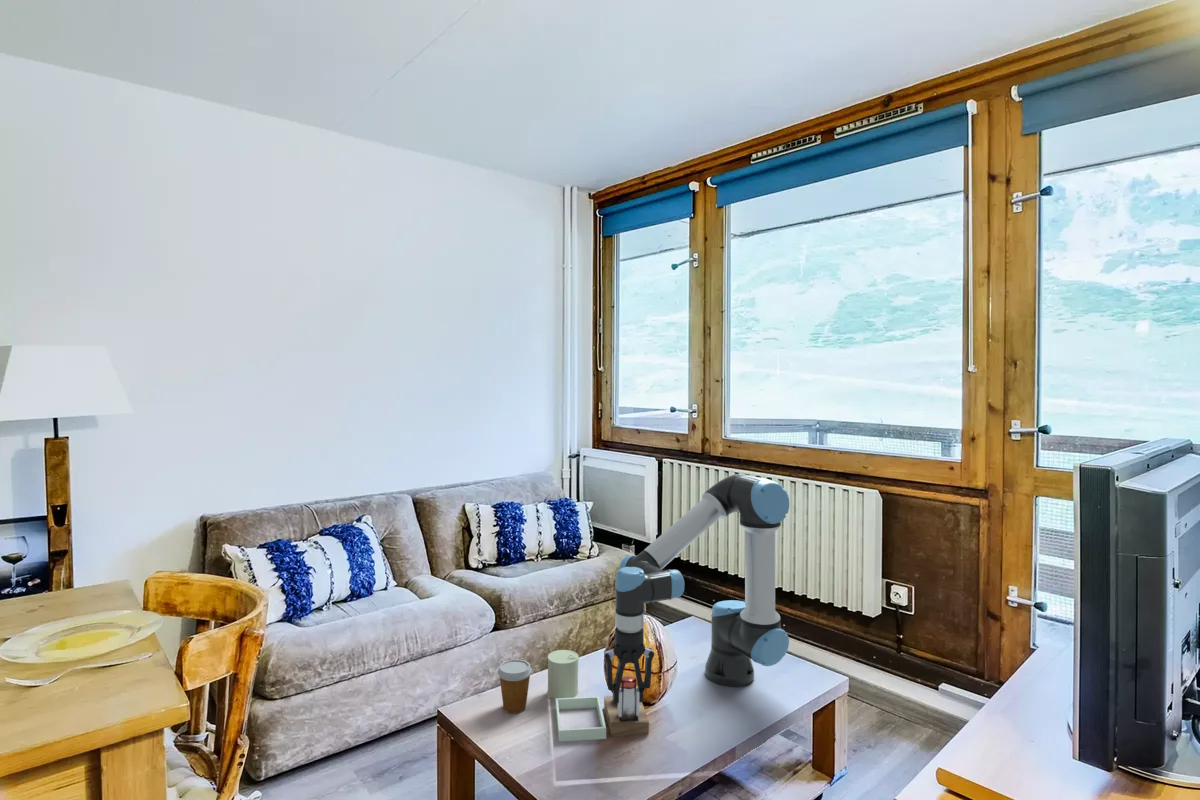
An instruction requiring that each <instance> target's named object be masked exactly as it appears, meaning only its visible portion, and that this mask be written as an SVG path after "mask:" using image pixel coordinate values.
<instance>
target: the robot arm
mask: <svg viewBox="0 0 1200 800" xmlns="http://www.w3.org/2000/svg"><path fill="white" fill-rule="evenodd" d="M789 510H790V498H789V495H788V492H787V491H786V489H785V488H784V487H783V486H782V485H781V484H780V483H778V482H776V481H773V480H771V479H768V478H762V477H758V476H752V475H749V474H746V473H735V474H732V475H729V476H727V477H726V478H723V479H721V480H720V481H718V482H717V483H715V484H714V485H712V486H711V487H710V488H709V489H707V490H706V491H705V492H704V493H703V494H702V496H701V500H700V501H699V502H697V503H696V504H695V505H694V506H693V507H691V508H690V509H689V510H688V511H687V512H686V513H685V514H684V515H683V516H681V517H680V518H679V519H678V520H677V521H676V522H674V523H673V524H672V525H671V526H670V527H669V528H667V529H666V530H665V531H664V532H663V533H661V534H660V535H659V536H658V537H657V538H656V539H655V540H654V541H652V542H651V543H650V544H649V545H648V546H646V547H645V548H644V550H642V551H641V552H640V553H639V554H637V555H633V554H630V555H626V556H625V557H624V558H623V559H622V560H621V562H620V564H619V569H618V570H617V571H616V575H615V584H614V589H615V596H614V597H615V605H614V607H615V612H614V613H615V616H614V617H615V619H614V621H615V622H614V626H615V628H614V644H613V647H612V649H609V650H607V649H605V650H604V651H603V655H604V658H605V666H606V669H605V670H606V687H607V689H608V691H613V692H614V702H615V703H618V706H617V712H618V715H619V717H622V691H621V680H622V678H623V677H624V676H623V675H624V671H625V667H626V665H627V664H633V668H634V674H635V679H636V685H637V686H636V716H639V702H642V703H643V701H644V693H645V690H646V689H650V688H651V685H652V684H651V683H652V665H653V664H652V661H653V659H654V656H655V652H654V649H653V648H652V647H651V648H650V647H649V648H647V647H645V644H644V626H645V625H644V623H645V622H644V620H645V619H644V618H645V617H644V612H645V610H644V609H645V604H651V603H656V602H663V601H666V600H670V601H671V600H673V599H675V598H680V597H682V596H683V594H684V592H685V579H684V576H683V575H682V573H681V571H679V570H678V569H666V570H663V569H665V567H666V566H667V565H668V564H669V563H671V562H672V561H673V560H674V559H675V558H676V557H677V556H678V555H680V554H681V553H682V552H683V551H684V550H685V549H686V548H688V546H690V545H691V544H692V543H693V542H695V540H696V539H698V538H699V537H700V536H701V535H702V534H703V533H704V532H705V531H707V530H708V529H709V528H710V527H711V526H712V525H713V524H715V523H716V522H717V521H718V520H719V519H720V520H721V519H726V518H727V517H728V516H729V515H730V514H733V513H738V514H739V525H740V526H741V527H742V528H743V529H744V533H745V534H744V554H745V555H744V562H745V564H744V573H745V574H744V585H745V586H744V593H745V595H744V596H745V597H744V601H743V600H734V599H733V600H732V599H731V600H730V599H729V600H722V601H718V602H716V603H714V604H713V606H712V607H711V608H712V610H711V615H710V616H711V638H710V639H711V641H710V642H711V646H710V647H711V649H710V652H709V654H708V657H707V659H706V662H705V667H704V669H705V670H704V672H705V676H706V677H707V678H708V680H710V681H712V682H714V683H716V684H719V685H722V686H727V687H741V686H742V687H743V686H746V685H749V684H751V683H752V682H753V681H754V679H755V669H754V666H753V662H754V663H757V664H759V665H761V666H764V667H772V666H774V665H777V664H778V663H780V662H781V661H782V659H783V658H784V657H785V656H786V654H787V652H788V650H789V645H790V639H789V635H788V633H787V632H786V631H785V629H783V628H781V616H780V614H779V613H778V612H777V611H776V531H778V529H779V528H780V527H781V526H782V525H781V524H782V521H785V518H786V515H787V514H788V513H789ZM614 655H615V656H616V657H617V659H618V660H617V661H618V663H617V666H616V667H617V668H616V672H615V678H614V682H613V662H612V660H613V659H614ZM643 655H644V656H645V661H644V662H645V663H644V664H645V665H644V677H642V672H641V668H640V661H639V660H640V659H641V657H642V656H643ZM643 678H644V680H643Z"/></svg>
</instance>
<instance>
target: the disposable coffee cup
mask: <svg viewBox="0 0 1200 800" xmlns="http://www.w3.org/2000/svg"><path fill="white" fill-rule="evenodd" d="M532 671H533V670H532V666H531V664H530V662H528V661H527V660H525V659H516V658H515V659H508V660H506V661H503V662H502V663H501V664H499V668H498V670H497V674H498V677H499V682H500V689H501V698H502V705H503V711H504V712H506V713H508V714H518V713H519V714H520V713H522V712H524V711H525V710H526V709H527V701H528V694H529V693H528V692H529V685H530V678H531V673H532Z"/></svg>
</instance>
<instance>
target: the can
mask: <svg viewBox="0 0 1200 800" xmlns="http://www.w3.org/2000/svg"><path fill="white" fill-rule="evenodd" d="M579 656H580V655H579V654H578V653H577V652H576V651H573V650H569V649H557V650H553V651H551V652H550V653H549V654H547V694H546V695H547V698H548V699H549V700H551V699H550V698H552V699H554V700H556V698H574V697H576V696H577V695H578V694H579Z"/></svg>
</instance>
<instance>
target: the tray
mask: <svg viewBox="0 0 1200 800" xmlns="http://www.w3.org/2000/svg"><path fill="white" fill-rule="evenodd" d="M600 699H601V698H600V696H599V695H598V696H579V697H576V696H575V697H574V698H556V699H555V716H556V727H557V728H556V729H557V735H558V737H557V738H558V742H573V741H574V742H577V741H592V740H593V741H594V740H607V727H606V722H605V721H606V720H605V717H604V712H603V709H602V705H601V704H602V703H601V701H600ZM592 708H594V709H595V708H597V709H596V711H597V715H598V719H599V723H600V726H596V727H581V728H579V727H578V728H562V724H561V716H560V710H570V709H571V710H572V709H592Z"/></svg>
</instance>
